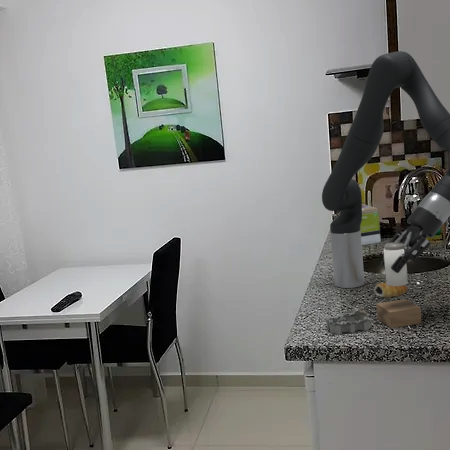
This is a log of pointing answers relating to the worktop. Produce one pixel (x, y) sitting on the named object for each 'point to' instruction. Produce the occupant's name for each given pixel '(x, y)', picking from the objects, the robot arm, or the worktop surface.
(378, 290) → the pastry
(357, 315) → the egg carton
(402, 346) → the worktop surface
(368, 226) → the tea box
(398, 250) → the spice jar
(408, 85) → the robot arm
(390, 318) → the walnut block
